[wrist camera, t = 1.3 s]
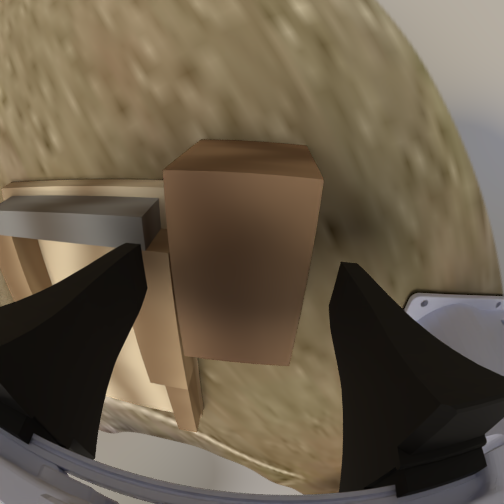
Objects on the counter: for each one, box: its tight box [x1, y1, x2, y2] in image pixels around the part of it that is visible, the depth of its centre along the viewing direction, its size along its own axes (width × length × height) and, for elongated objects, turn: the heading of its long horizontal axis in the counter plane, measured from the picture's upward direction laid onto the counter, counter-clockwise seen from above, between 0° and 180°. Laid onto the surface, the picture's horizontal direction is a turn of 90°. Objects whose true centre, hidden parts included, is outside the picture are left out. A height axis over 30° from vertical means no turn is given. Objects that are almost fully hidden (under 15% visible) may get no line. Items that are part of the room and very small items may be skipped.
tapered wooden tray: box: [0, 179, 204, 432], centre depth 17 cm, size 12×20×3 cm, turn 176°
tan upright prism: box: [163, 139, 324, 366], centre depth 12 cm, size 4×8×5 cm, turn 177°
